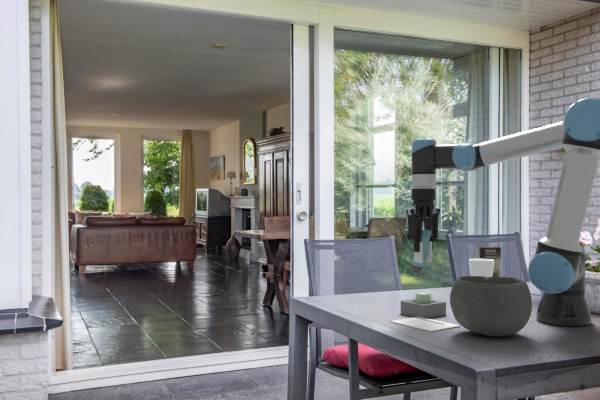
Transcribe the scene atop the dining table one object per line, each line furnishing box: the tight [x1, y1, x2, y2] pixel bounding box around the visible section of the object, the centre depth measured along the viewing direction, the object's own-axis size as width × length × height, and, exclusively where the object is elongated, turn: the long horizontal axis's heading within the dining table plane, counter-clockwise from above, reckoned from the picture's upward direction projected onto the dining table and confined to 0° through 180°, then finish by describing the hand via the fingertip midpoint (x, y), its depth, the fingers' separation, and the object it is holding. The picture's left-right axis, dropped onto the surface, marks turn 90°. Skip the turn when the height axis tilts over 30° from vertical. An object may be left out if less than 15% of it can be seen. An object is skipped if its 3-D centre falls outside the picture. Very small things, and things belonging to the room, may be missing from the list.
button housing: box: [400, 298, 447, 319], centre depth 193 cm, size 10×10×4 cm
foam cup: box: [468, 258, 494, 277], centre depth 235 cm, size 10×9×13 cm
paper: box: [390, 316, 461, 333], centre depth 178 cm, size 16×12×1 cm
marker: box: [410, 227, 432, 274], centre depth 194 cm, size 4×4×14 cm
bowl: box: [449, 275, 533, 338], centre depth 165 cm, size 21×21×15 cm
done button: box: [414, 291, 432, 304], centre depth 193 cm, size 5×5×5 cm
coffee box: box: [474, 245, 502, 277], centre depth 259 cm, size 9×6×16 cm
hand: (423, 262), depth 193 cm, fingers closed on marker, 3 cm apart
